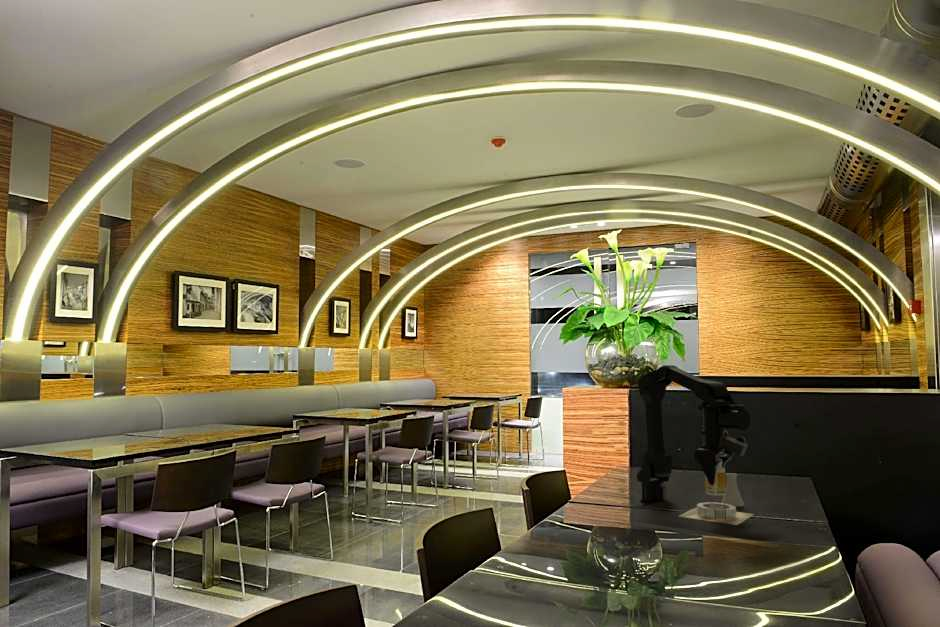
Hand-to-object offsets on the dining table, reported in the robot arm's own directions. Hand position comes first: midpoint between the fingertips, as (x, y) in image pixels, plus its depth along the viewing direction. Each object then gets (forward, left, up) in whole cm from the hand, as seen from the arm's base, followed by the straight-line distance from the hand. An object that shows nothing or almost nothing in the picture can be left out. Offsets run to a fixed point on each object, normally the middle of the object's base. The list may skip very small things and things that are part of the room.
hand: (715, 483), depth 187 cm
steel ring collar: (0, 0, -9) cm, 9 cm away
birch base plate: (0, 0, -10) cm, 10 cm away
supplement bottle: (0, 0, -3) cm, 3 cm away
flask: (-1, +18, -10) cm, 21 cm away
